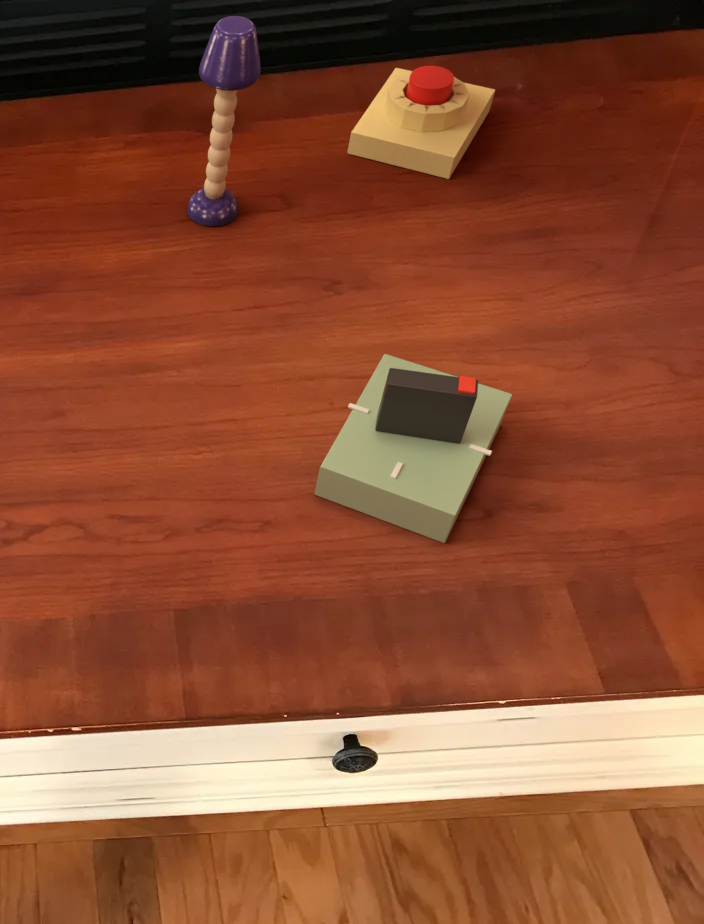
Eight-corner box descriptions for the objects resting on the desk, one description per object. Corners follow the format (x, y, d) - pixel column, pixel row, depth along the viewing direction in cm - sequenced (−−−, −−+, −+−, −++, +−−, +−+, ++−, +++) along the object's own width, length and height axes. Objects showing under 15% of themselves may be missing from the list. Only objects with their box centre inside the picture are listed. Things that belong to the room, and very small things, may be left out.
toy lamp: (225, 188, 100) (242, 1, 86) (255, 216, 97) (278, 28, 84) (177, 206, 99) (187, 21, 85) (207, 236, 96) (222, 49, 83)
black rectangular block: (374, 431, 77) (388, 381, 74) (377, 414, 78) (390, 364, 75) (460, 444, 76) (478, 394, 72) (461, 426, 77) (479, 376, 73)
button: (414, 80, 100) (418, 61, 99) (455, 89, 99) (460, 70, 98) (399, 101, 99) (404, 83, 97) (441, 111, 97) (446, 92, 96)
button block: (391, 89, 106) (399, 48, 103) (489, 111, 103) (501, 70, 100) (347, 153, 101) (354, 113, 98) (448, 179, 97) (460, 138, 94)
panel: (372, 381, 84) (380, 349, 82) (506, 425, 81) (518, 393, 78) (309, 492, 79) (315, 462, 76) (450, 545, 75) (461, 516, 72)
